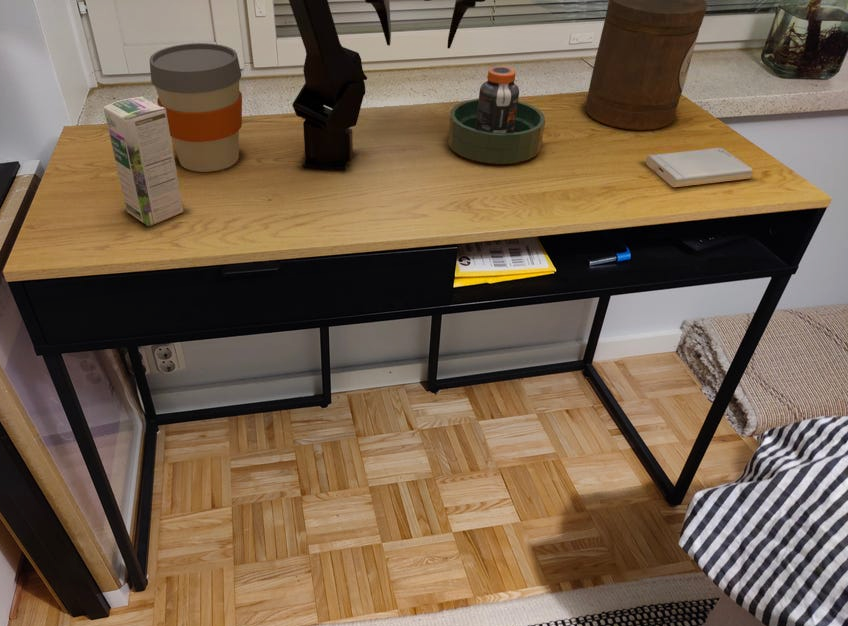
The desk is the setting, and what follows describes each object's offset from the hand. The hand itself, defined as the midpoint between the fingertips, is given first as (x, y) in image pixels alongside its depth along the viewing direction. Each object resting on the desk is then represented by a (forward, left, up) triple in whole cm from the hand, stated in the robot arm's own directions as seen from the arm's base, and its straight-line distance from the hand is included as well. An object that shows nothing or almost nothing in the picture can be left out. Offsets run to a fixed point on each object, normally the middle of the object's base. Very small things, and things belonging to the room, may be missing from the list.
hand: (418, 46), depth 108 cm
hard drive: (+43, -9, -13) cm, 46 cm away
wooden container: (+36, +12, -13) cm, 40 cm away
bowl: (+13, -5, -13) cm, 19 cm away
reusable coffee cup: (-30, -16, -13) cm, 37 cm away
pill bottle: (+13, -5, -13) cm, 19 cm away
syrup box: (-32, -33, -13) cm, 48 cm away
